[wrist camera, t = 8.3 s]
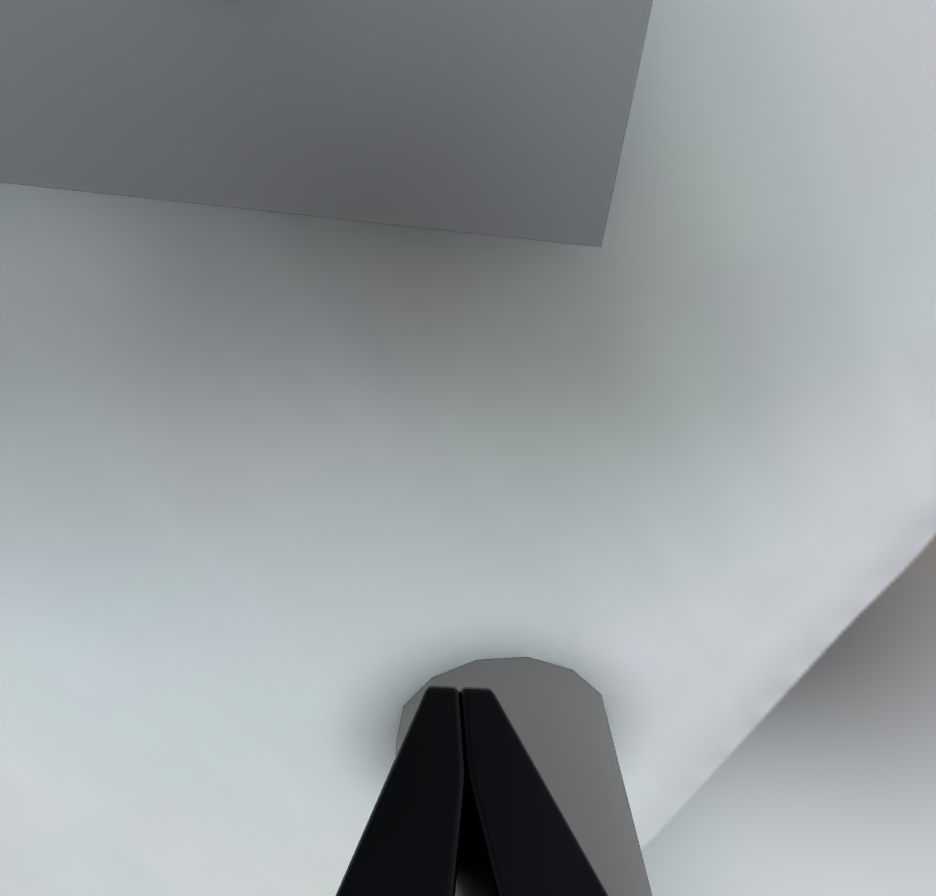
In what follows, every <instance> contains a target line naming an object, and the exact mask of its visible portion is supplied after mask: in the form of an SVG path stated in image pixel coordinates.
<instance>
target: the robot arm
mask: <svg viewBox="0 0 936 896" xmlns="http://www.w3.org/2000/svg"><path fill="white" fill-rule="evenodd" d="M336 896H609V895H608V893H607V892H606V890H605V888H604V886H603V884H602V883H601V881H600V879H599V877H598V876H597V874H596V872H595V870H594V868H593V867H592V865H591V863H590V861H589V860H588V858H587V856H586V854H585V852H584V851H583V849H582V847H581V845H580V844H579V842H578V840H577V838H576V837H575V835H574V833H573V831H572V829H571V828H570V826H569V824H568V822H567V821H566V819H565V817H564V815H563V813H562V812H561V810H560V808H559V806H558V805H557V803H556V801H555V799H554V798H553V796H552V794H551V792H550V790H549V789H548V787H547V785H546V783H545V782H544V780H543V778H542V776H541V774H540V773H539V771H538V769H537V767H536V766H535V764H534V762H533V760H532V759H531V757H530V755H529V753H528V751H527V750H526V748H525V746H524V744H523V743H522V741H521V739H520V737H519V735H518V734H517V732H516V730H515V728H514V727H513V725H512V723H511V721H510V719H509V718H508V716H507V714H506V712H505V711H504V709H503V707H502V705H501V704H500V702H499V700H498V698H497V696H496V695H495V693H494V692H493V691H492V690H491V689H490V688H486V687H463V688H461V689H460V691H459V690H458V688H456V687H455V686H441V685H430V686H428V687H427V688H426V690H425V692H424V694H423V696H422V698H421V701H420V703H419V705H418V708H417V710H416V712H415V714H414V717H413V719H412V721H411V724H410V726H409V728H408V731H407V733H406V735H405V737H404V740H403V742H402V744H401V747H400V749H399V751H398V754H397V756H396V758H395V760H394V763H393V765H392V767H391V770H390V772H389V774H388V777H387V779H386V781H385V783H384V786H383V788H382V790H381V793H380V795H379V797H378V800H377V802H376V804H375V806H374V809H373V811H372V813H371V816H370V818H369V820H368V823H367V825H366V827H365V829H364V832H363V834H362V836H361V839H360V841H359V843H358V846H357V848H356V850H355V852H354V855H353V857H352V859H351V862H350V864H349V866H348V869H347V871H346V873H345V875H344V878H343V880H342V882H341V885H340V887H339V889H338V892H337V894H336Z"/></svg>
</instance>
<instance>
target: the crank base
mask: <svg viewBox="0 0 936 896" xmlns="http://www.w3.org/2000/svg"><path fill="white" fill-rule="evenodd" d="M652 2H653V0H0V182H1V183H10V184H19V185H29V186H38V187H47V188H57V189H66V190H75V191H84V192H94V193H103V194H112V195H121V196H131V197H140V198H149V199H159V200H168V201H177V202H186V203H196V204H205V205H214V206H223V207H233V208H242V209H251V210H261V211H270V212H279V213H288V214H298V215H307V216H316V217H325V218H335V219H344V220H353V221H363V222H372V223H381V224H390V225H400V226H409V227H418V228H427V229H437V230H446V231H455V232H465V233H474V234H483V235H492V236H502V237H511V238H520V239H529V240H539V241H548V242H557V243H567V244H576V245H585V246H594V247H601V244H602V239H603V235H604V230H605V225H606V220H607V216H608V211H609V206H610V201H611V197H612V192H613V187H614V182H615V178H616V173H617V168H618V163H619V159H620V154H621V149H622V144H623V140H624V135H625V130H626V125H627V121H628V116H629V111H630V106H631V102H632V97H633V92H634V87H635V83H636V78H637V73H638V68H639V64H640V59H641V54H642V49H643V45H644V40H645V35H646V30H647V26H648V21H649V16H650V11H651V7H652Z"/></svg>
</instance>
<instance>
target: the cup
mask: <svg viewBox="0 0 936 896" xmlns="http://www.w3.org/2000/svg"><path fill="white" fill-rule="evenodd" d="M430 685H441V686H455V687H456V688H458V690H459V691H460V689H461V688H463V687H486V688H490V689H491V690H492V691H493V692H494V693H495V695H496V696H497V698H498V700H499V702H500V704H501V705H502V707H503V709H504V711H505V712H506V714H507V716H508V718H509V719H510V721H511V723H512V725H513V727H514V728H515V730H516V732H517V734H518V735H519V737H520V739H521V741H522V743H523V744H524V746H525V748H526V750H527V751H528V753H529V755H530V757H531V759H532V760H533V762H534V764H535V766H536V767H537V769H538V771H539V773H540V774H541V776H542V778H543V780H544V782H545V783H546V785H547V787H548V789H549V790H550V792H551V794H552V796H553V798H554V799H555V801H556V803H557V805H558V806H559V808H560V810H561V812H562V813H563V815H564V817H565V819H566V821H567V822H568V824H569V826H570V828H571V829H572V831H573V833H574V835H575V837H576V838H577V840H578V842H579V844H580V845H581V847H582V849H583V851H584V852H585V854H586V856H587V858H588V860H589V861H590V863H591V865H592V867H593V868H594V870H595V872H596V874H597V876H598V877H599V879H600V881H601V883H602V884H603V886H604V888H605V890H606V892H607V893H608V895H609V896H652V893H651V889H650V885H649V881H648V877H647V873H646V869H645V865H644V861H643V857H642V853H641V849H640V845H639V841H638V838H637V834H636V830H635V826H634V822H633V818H632V814H631V810H630V806H629V802H628V798H627V794H626V790H625V786H624V782H623V779H622V775H621V771H620V767H619V763H618V759H617V755H616V751H615V747H614V743H613V739H612V735H611V731H610V727H609V723H608V719H607V716H606V712H605V708H604V704H603V700H602V696H601V694H600V693H599V692H598V691H596V690H595V689H594V688H593V687H592V686H591V685H590V684H588V683H587V682H586V681H585V680H584V679H583V678H581V677H580V676H579V675H578V674H577V673H576V672H574V671H573V670H571V669H568V668H564V667H561V666H557V665H554V664H550V663H547V662H543V661H540V660H536V659H533V658H529V657H519V658H503V659H486V660H475V661H473V662H470V663H468V664H465V665H463V666H460V667H458V668H455V669H453V670H450V671H448V672H446V673H443V674H441V675H438V676H436V677H433V678H431V679H430V680H429V681H428V682H427V683H426V684H425V685H424V686H423V687H422V688H421V689H420V690H419V691H418V692H417V693H416V694H415V695H414V696H413V697H412V698H411V699H410V700H409V701H408V702H407V703H406V704H405V705H404V706H403V711H402V716H401V721H400V725H399V730H398V735H397V744H396V756H397V754H398V751H399V749H400V747H401V744H402V742H403V740H404V737H405V735H406V733H407V731H408V728H409V726H410V724H411V721H412V719H413V717H414V714H415V712H416V710H417V708H418V705H419V703H420V701H421V698H422V696H423V694H424V692H425V690H426V688H427V687H428V686H430Z"/></svg>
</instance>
